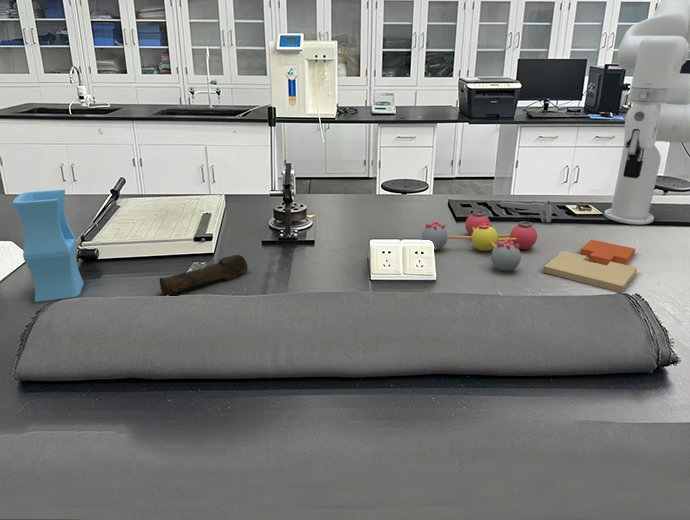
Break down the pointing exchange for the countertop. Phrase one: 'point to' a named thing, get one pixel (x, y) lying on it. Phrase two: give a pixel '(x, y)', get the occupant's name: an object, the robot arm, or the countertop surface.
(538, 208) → the caliper
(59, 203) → the vase
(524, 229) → the molecule model
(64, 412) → the countertop surface
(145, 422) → the countertop surface
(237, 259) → the hand tool
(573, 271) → the notch pad
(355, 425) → the countertop surface
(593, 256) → the tab pad
